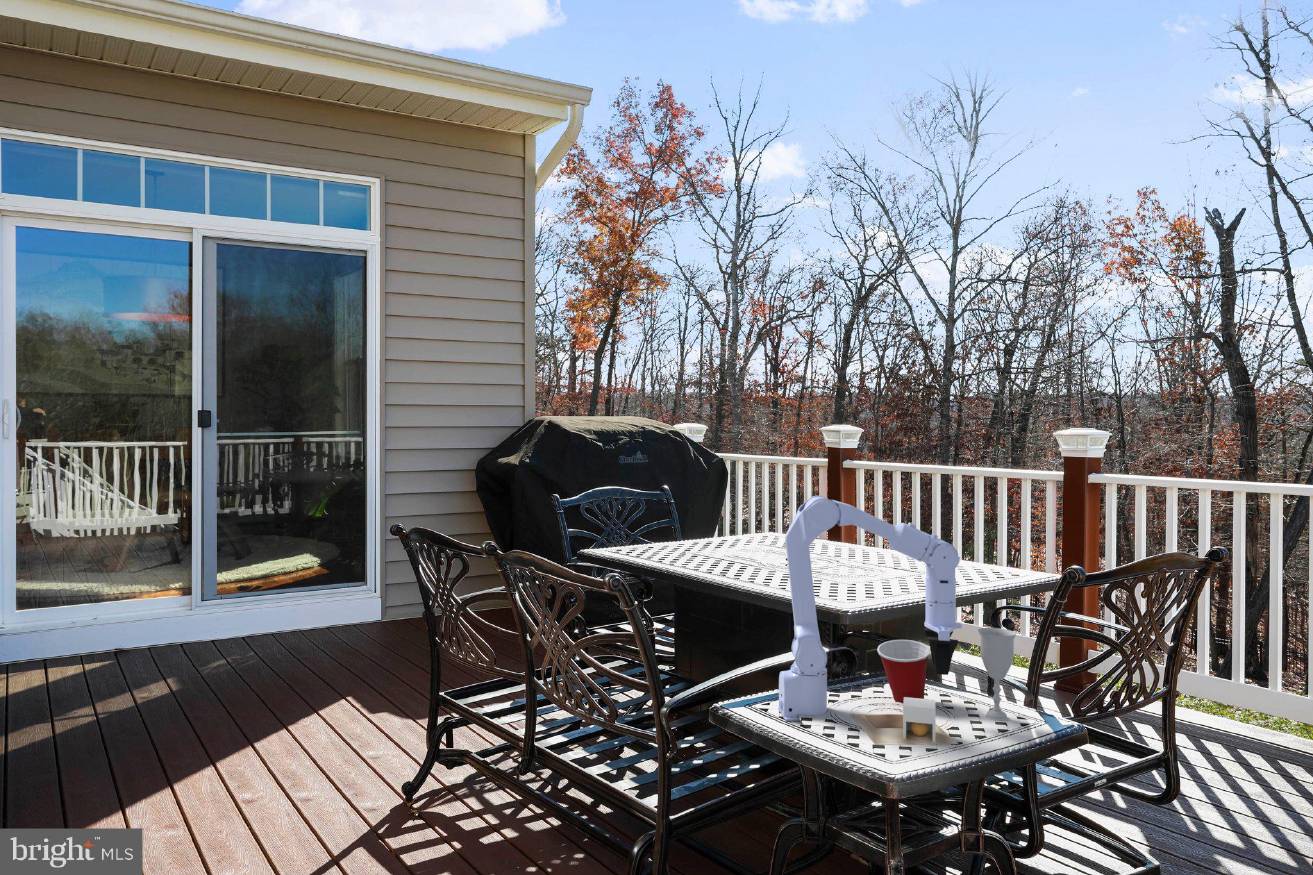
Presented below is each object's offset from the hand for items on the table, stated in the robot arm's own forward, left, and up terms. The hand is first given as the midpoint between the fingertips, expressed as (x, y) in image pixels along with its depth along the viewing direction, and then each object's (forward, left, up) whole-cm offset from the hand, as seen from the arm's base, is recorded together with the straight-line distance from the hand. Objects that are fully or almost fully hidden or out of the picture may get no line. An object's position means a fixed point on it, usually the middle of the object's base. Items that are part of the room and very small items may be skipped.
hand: (940, 669), depth 170 cm
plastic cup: (-3, +9, -10) cm, 14 cm away
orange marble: (-9, -13, -9) cm, 18 cm away
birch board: (-11, -9, -10) cm, 17 cm away
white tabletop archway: (-9, -13, -9) cm, 18 cm away
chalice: (+10, -3, -10) cm, 15 cm away
